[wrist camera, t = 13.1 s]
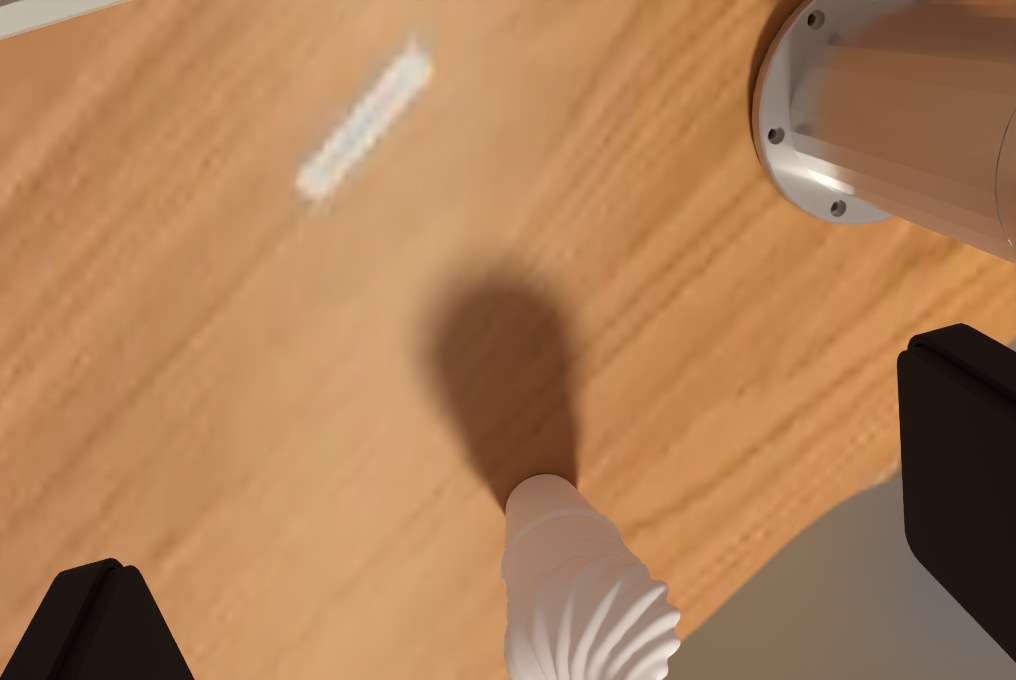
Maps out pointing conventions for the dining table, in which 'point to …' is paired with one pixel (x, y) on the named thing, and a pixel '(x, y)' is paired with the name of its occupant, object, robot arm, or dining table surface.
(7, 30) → the tray
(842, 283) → the dining table surface
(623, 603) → the soft serve ice cream cone
